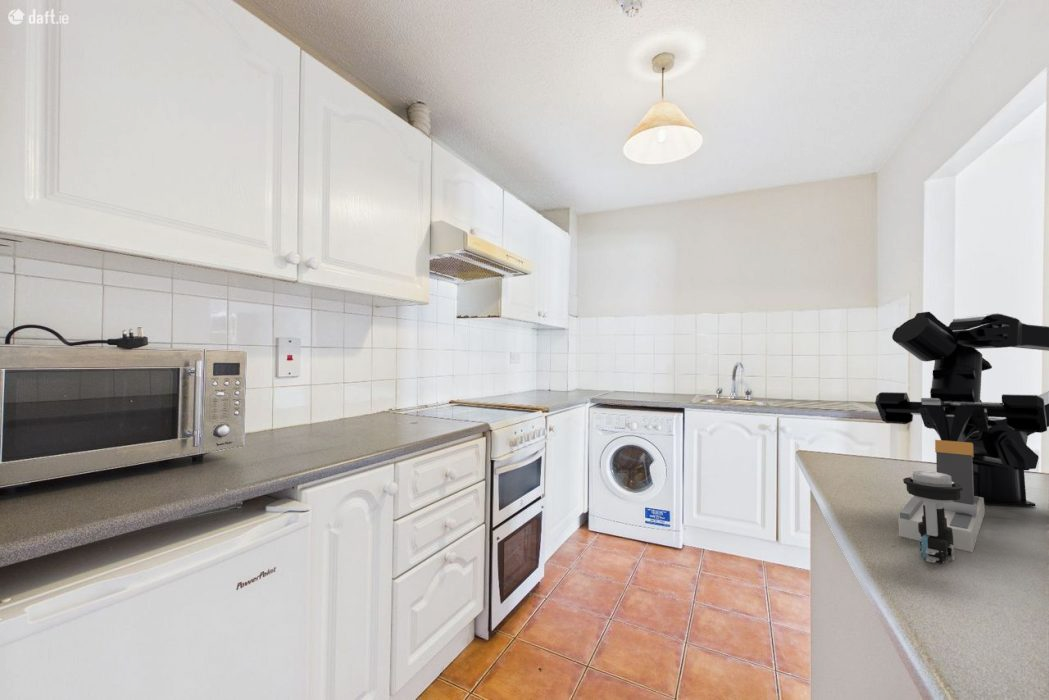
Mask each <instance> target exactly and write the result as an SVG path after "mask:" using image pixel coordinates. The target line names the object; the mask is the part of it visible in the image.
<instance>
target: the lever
mask: <svg viewBox="0 0 1049 700" xmlns="http://www.w3.org/2000/svg"><path fill="white" fill-rule="evenodd" d="M934 446H935V447H934V450H935V451H934V452H935V454H936V455H935V456H936V460H935V461H936V462H935V463H936V472H937V473H943V474H947V475H950V476H951V479H952V481H953V482H955V483H958V484H960V485H962V486H963V490H962V491H960V498H961V499H959V500H953V502H951V503H943V508H944V510H945V511H950V512H956V513H962V514H968V515H974V516H976V515H977V508H976V504H974V485H973V457H974V453H973V444H972V443H969V442H957V441H944V440H941V439H935V440H934Z"/></svg>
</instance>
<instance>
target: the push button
mask: <svg viewBox="0 0 1049 700" xmlns="http://www.w3.org/2000/svg"><path fill="white" fill-rule="evenodd" d="M911 473H912V476H909V477H905V478H903V479H902V481H903V484H904V485H906V486H905V487H906V492H907V493H908V494H909V495H912V496H914V497H915V498H918V499H921V500H923V501H924V505H923V514H924V515H923V516H922V522H919V523H918V530H919V533H920V535H921V539H920V540H918V550H919V551H918V552H919V553H921V552H922V558H923V559H924V560H925V561H926V562H930V563H933V564H935V563H939V564H944V563H945V561H946V560H947V558H949V557H948V556H951V560H952V561H954V559H955V548H954V545H953V533H952V528H951V527H947V518H945V512H944V508H943V503H951V502H953V500H959V499H961V498H960V491H962V490H963V486H962V485H960V484H958V483H955V482H953V481H952V479H951V476H950V475H947V474H943V473H937V471H928V470H927V471H925V470H915V471H912V472H911Z"/></svg>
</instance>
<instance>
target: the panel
mask: <svg viewBox="0 0 1049 700" xmlns="http://www.w3.org/2000/svg"><path fill="white" fill-rule="evenodd" d="M974 504H976V508H977V515H976V516H974V515H968V514H962V513H956V512H950V511H945V510H944V512H945V518H947V527H951V528H952V533H953V545H954V549H957V550H961V551H966V552H969V553H973V551H974V550H975V549H974V548H975V547H976V541H977V540H978V537H979V532H980V530H981V527H982V524H983V521H984V517H985V515H986V512H985V511H986V510H985V503H984V498H983V497H977V496H974ZM923 505H924V501H923V500H921V499H918V498H915V497H914V495H912V497H911V498H910V500H909V501H907V503H906V504H905V505H904V507H902V508H901V510H900V511H899V516H898V517H897V520H898V523H897V524H898V537H901V538H906V539H910V540H915V541H919V540H920V539H921V535H920V533H919V530H918V523H919V522H922V516H923V515H924V514H923Z"/></svg>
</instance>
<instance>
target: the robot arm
mask: <svg viewBox="0 0 1049 700" xmlns="http://www.w3.org/2000/svg"><path fill="white" fill-rule="evenodd" d="M891 337H892V341H894V342H895V343H896V344H898V346H900V347H902V348H903V349H904V350H906V351H907V352H909V353H910V354H911V355H913V357H915V358H917V359H918V360H919V361H921V362H931V361H932V362H933V361H934V365H933V369H932V373H931V374H932V380H931V387H930V392H929V394H930V397H921V398H920V401H910V398H909V395H908V392H895V391H894V392H892V391H890V392H888V391H887V392H886V391H884V392H883V391H882V392H879V393H878V394H877V395H876V398H875V402H874V404H875V406H876V408H877V411H878V413H879V416H880V418H881V421H882V422H884V423H886V424H897V425H907V424H909V423H911V422H913V421H914V420H913V419H914V415H915V416H917V415H918V416H920V417H921V420H922V423H923V425H924V426H923V427H925V428H927V429H930V430H931V429H932V430H935V431H934V432H936V433H937V435H938V437H939V440H944V441H957V442H969V443H972V444H973V453H974V457H973V485H974V496H977V497H983V498H984V505H988V506H989V505H990V506H1013V507H1036V503H1035V502H1033V501H1029V500H1027V489H1026V482H1025V481H1026V477H1025V471H1030V470H1036V468H1037V465H1038V462H1039V461H1038V460H1039V459H1040V458H1039V455H1038V454H1037V453H1036V452H1035V451H1034V450H1033V449H1031V448H1030V447H1029V445H1027V443H1028V439H1029V436H1030V435H1033V434H1035V433H1037V434H1038V433H1040V434H1042V433H1045V432H1048V428H1049V390H1048V391H1045V392H1043V393H1041V394H1005V393H1003V394H1001V402H992V401H990V402H984V401H982V399H981V390H982V389H981V388H982V372H984V371H987V370H990V369H992V368H993V366H992V365H991V363H990V361H988V360H987V359H986V358H984V357H983V354H982V352H980V351H979V350H978V349H980V350H981V349H1001V348H1017V349H1018V348H1019V349H1028V350H1039V351H1045V352H1048V351H1049V326H1047V325H1046V326H1044V325H1038V324H1037V325H1035V324H1026V323H1024V322H1022V321H1021V320H1020V319H1019V318H1016V317H1013V316H1009V315H1006V314H1003V313H989V314H981V315H972V316H970V315H969V316H964V317H963V316H962V317H956V318H953V319H952V321H951V322H950V323H949V325H946V324H945V323H943V322H942V321H941V320H939V319H938V318H937V317H936V315H934V314H933V313H932V312H931V311H924V312H917V313H916V314H915V315H914V317H912V318H910V319H908V320H906V321H904V322H903V323H902V324H901V325H899V326H898V327H896V328H895V329H894V331H893V332H892V336H891Z"/></svg>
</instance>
